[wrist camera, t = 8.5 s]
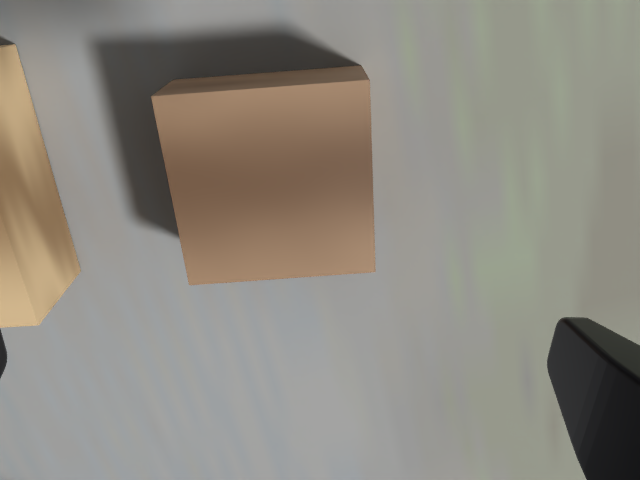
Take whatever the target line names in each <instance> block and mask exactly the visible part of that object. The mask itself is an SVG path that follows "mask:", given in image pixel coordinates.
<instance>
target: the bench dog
mask: <svg viewBox="0 0 640 480" xmlns="http://www.w3.org/2000/svg"><path fill="white" fill-rule="evenodd" d="M80 272H81V270H80V266H79V263H78V259H77V256H76V252H75V249H74V245H73V242H72V238H71V235H70V232H69V228H68V225H67V221H66V218H65V214H64V211H63V207H62V204H61V200H60V197H59V193H58V190H57V187H56V183H55V180H54V176H53V173H52V169H51V166H50V162H49V159H48V155H47V152H46V148H45V145H44V141H43V138H42V135H41V131H40V128H39V124H38V121H37V117H36V114H35V110H34V107H33V103H32V100H31V96H30V93H29V90H28V86H27V83H26V79H25V76H24V72H23V69H22V65H21V62H20V58H19V55H18V51H17V48H16V44H12V45H0V328H1V327H18V326H35V325H39V324H40V323H41V322H42V320H43V319H44V318H45V316H46V315H47V314H48V313H49V311H50V310H51V309H52V307H53V306H54V305H55V304H56V302H57V301H58V300H59V299H60V297H61V296H62V295H63V293H64V292H65V291H66V290H67V288H68V287H69V286H70V284H71V283H72V282H73V281H74V279H75V278H76V277H77V275H78V274H79V273H80Z"/></svg>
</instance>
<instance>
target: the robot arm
mask: <svg viewBox="0 0 640 480" xmlns="http://www.w3.org/2000/svg"><path fill="white" fill-rule="evenodd" d="M6 363H7V351H6V347H5V344H4V340H3V337H2V333H1V330H0V378H1V376H2V374H3V372H4V369H5V367H6ZM547 368H548V373H549V376H550V379H551V382H552V385H553V388H554V391H555V394H556V397H557V400H558V403H559V406H560V409H561V412H562V415H563V418H564V421H565V424H566V427H567V430H568V433H569V437H570V440H571V443H572V445H573V448H574V451H575V453H576V456H577V459H578V461H579V463H580V466H581V468H582V470H583V473H584V475H585V477H586V479H587V480H640V345H638V344H636V343H634V342H632V341H630V340H628V339H626V338H625V337H623V336H621V335H619V334H617V333H615V332H613V331H611V330H609V329H607V328H606V327H604V326H602V325H600V324H598V323H596V322H594V321H592V320H590V319H588V318H584V317H564V318H562V319H560V320H559V321H558V323H557V325H556V328H555V332H554V336H553V339H552V343H551V347H550V351H549V355H548V360H547Z"/></svg>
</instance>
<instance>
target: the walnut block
mask: <svg viewBox="0 0 640 480" xmlns="http://www.w3.org/2000/svg"><path fill="white" fill-rule="evenodd" d="M151 99H152V104H153V109H154V114H155V119H156V124H157V129H158V134H159V139H160V144H161V149H162V153H163V158H164V163H165V168H166V173H167V178H168V183H169V188H170V193H171V198H172V203H173V208H174V213H175V218H176V222H177V227H178V232H179V237H180V242H181V247H182V252H183V257H184V262H185V267H186V272H187V277H188V282H189V285H199V284H213V283H227V282H242V281H256V280H270V279H284V278H298V277H312V276H327V275H341V274H355V273H369V272H375V239H374V206H373V174H372V141H371V108H370V80H369V78H368V76H367V74H366V73H365V71H364V69H363V68H362V66H361V65H360V66H347V67H333V68H320V69H307V70H294V71H281V72H268V73H254V74H241V75H228V76H215V77H202V78H189V79H175V80H172V81H171V82H169V83H168V84H167V85H165V86H164V87H163V88H161V89H160V90H159V91H157V92H156V93H155V94H153V95H152V96H151Z"/></svg>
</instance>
